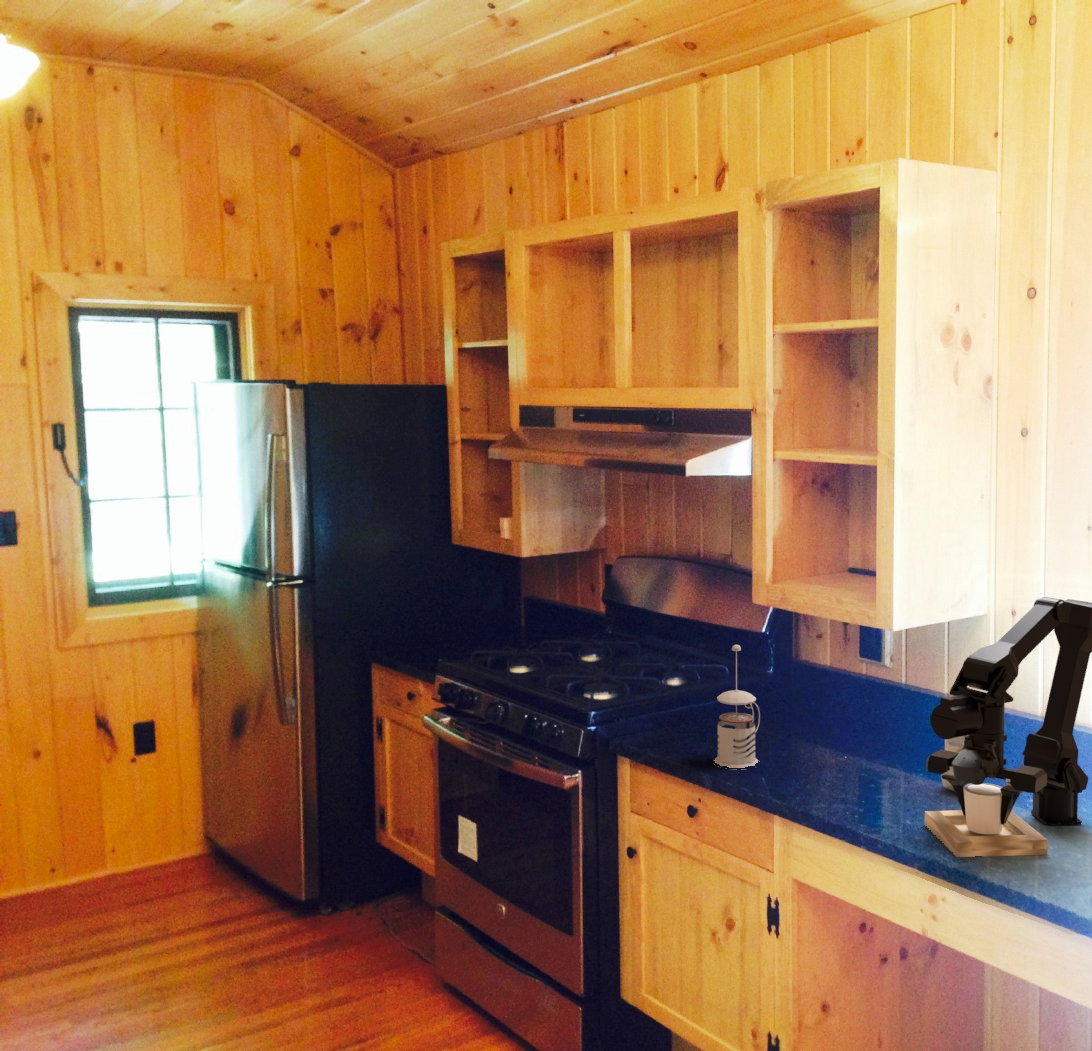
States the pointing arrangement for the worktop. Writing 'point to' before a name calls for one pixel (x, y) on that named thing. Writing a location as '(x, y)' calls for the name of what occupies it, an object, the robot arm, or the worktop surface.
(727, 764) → the french press
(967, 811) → the white tapered cup
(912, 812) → the worktop surface
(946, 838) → the holder tray
